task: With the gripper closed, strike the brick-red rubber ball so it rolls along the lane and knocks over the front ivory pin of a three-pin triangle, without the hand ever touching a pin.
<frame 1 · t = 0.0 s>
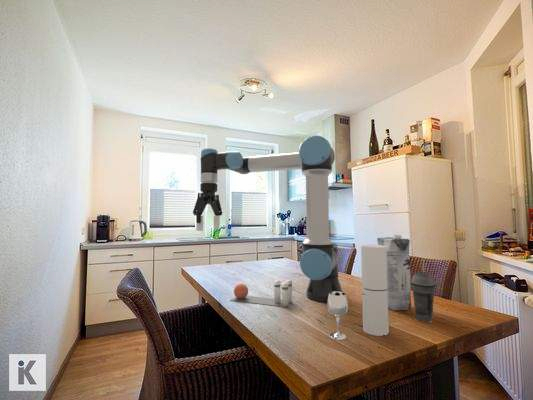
hand: (208, 230, 124), 28 cm above the table, tool pointing down, fingers open, 13 cm apart
pin back right: (289, 302, 110), on the table
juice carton: (395, 307, 104), on the table
ball: (241, 291, 115), on the table
beverage cup: (424, 320, 91), on the table
pin front: (277, 302, 109), on the table
lane mark: (261, 300, 112), on the table
wineglass: (338, 337, 79), on the table
cylindrical container: (375, 331, 83), on the table
pin back left: (285, 305, 106), on the table
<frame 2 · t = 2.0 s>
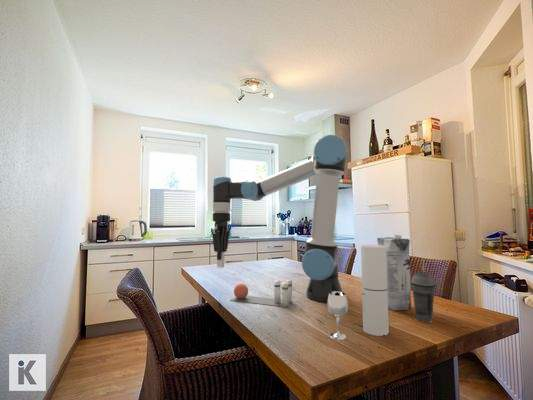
hand: (220, 267, 119), 12 cm above the table, tool pointing down, fingers closed
nothing on the table moved.
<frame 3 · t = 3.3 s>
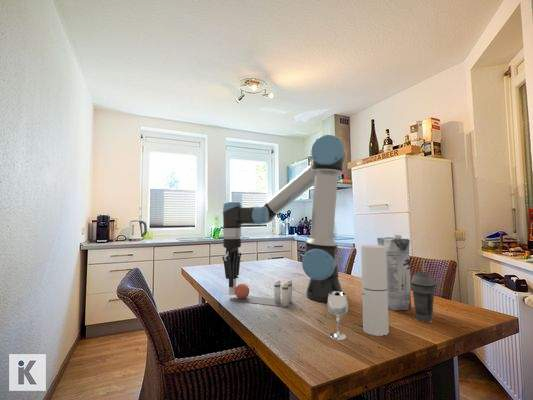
hand: (232, 294, 117), 1 cm above the table, tool pointing down, fingers closed
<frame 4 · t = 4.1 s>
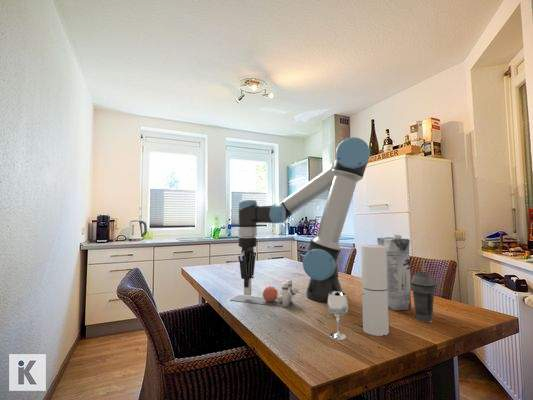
hand: (247, 294, 114), 2 cm above the table, tool pointing down, fingers closed
ball: (270, 294, 111), on the table
pin front: (279, 300, 109), point 1 cm above the table, tilted 55°
everything else where it was.
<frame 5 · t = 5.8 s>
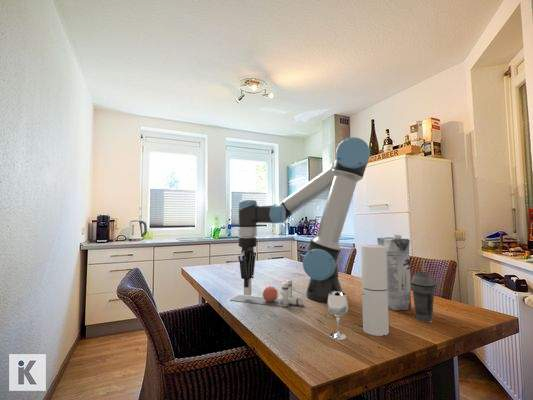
hand: (247, 294, 114), 2 cm above the table, tool pointing down, fingers closed
pin front: (281, 300, 109), point 1 cm above the table, tilted 90°
everything else where it was.
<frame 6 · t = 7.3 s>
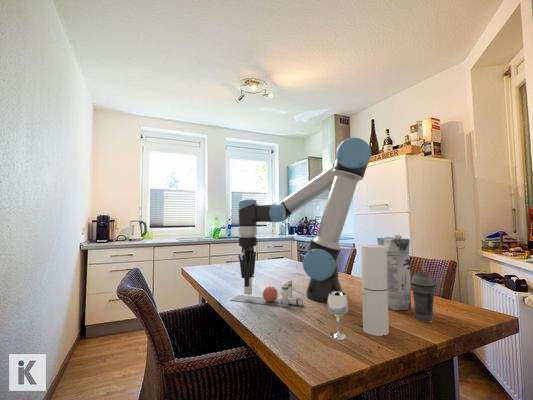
hand: (248, 294, 114), 2 cm above the table, tool pointing down, fingers closed
nothing on the table moved.
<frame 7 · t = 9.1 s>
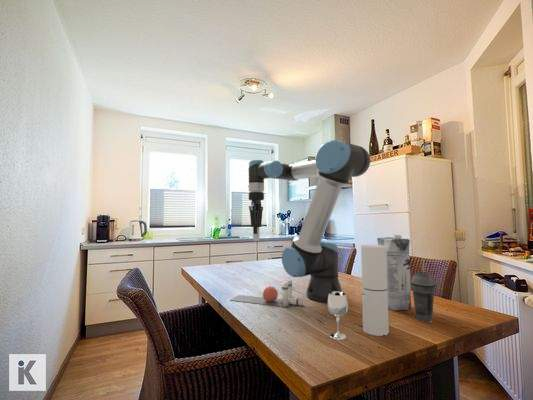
hand: (256, 240, 134), 22 cm above the table, tool pointing down, fingers closed
nothing on the table moved.
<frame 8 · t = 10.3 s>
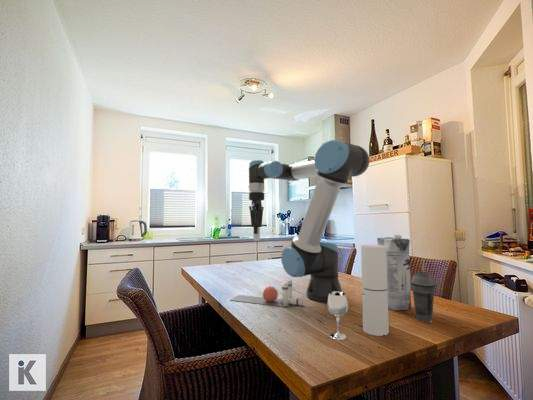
hand: (256, 240, 135), 22 cm above the table, tool pointing down, fingers closed
nothing on the table moved.
at the end: pin front tilted 90°; pin front never touched the robot; ball moved 12.9 cm from its start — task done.
